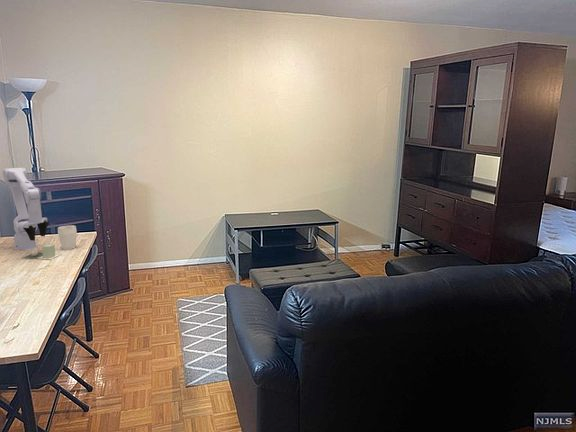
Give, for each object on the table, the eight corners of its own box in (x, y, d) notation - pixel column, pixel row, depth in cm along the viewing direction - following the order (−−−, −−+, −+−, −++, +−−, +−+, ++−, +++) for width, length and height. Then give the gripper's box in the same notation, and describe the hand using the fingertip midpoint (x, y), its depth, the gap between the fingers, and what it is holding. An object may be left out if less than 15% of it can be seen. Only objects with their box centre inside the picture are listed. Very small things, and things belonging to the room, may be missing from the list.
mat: (21, 259, 213) (21, 257, 212) (33, 253, 221) (33, 252, 221) (50, 260, 211) (50, 259, 211) (62, 255, 219) (62, 254, 219)
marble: (30, 256, 215) (29, 250, 214) (34, 254, 218) (33, 249, 217) (35, 256, 215) (34, 251, 214) (39, 255, 218) (38, 249, 217)
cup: (72, 251, 227) (70, 229, 224) (56, 250, 227) (53, 229, 224) (81, 246, 235) (79, 225, 233) (65, 245, 236) (63, 225, 233)
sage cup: (40, 257, 213) (39, 246, 212) (47, 254, 218) (46, 243, 217) (50, 258, 212) (49, 246, 211) (57, 254, 218) (56, 243, 216)
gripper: (31, 215, 206) (35, 242, 209) (51, 209, 220) (54, 234, 223) (18, 215, 207) (22, 241, 210) (39, 209, 221) (42, 234, 224)
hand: (37, 238), depth 217 cm, fingers open, 7 cm apart
